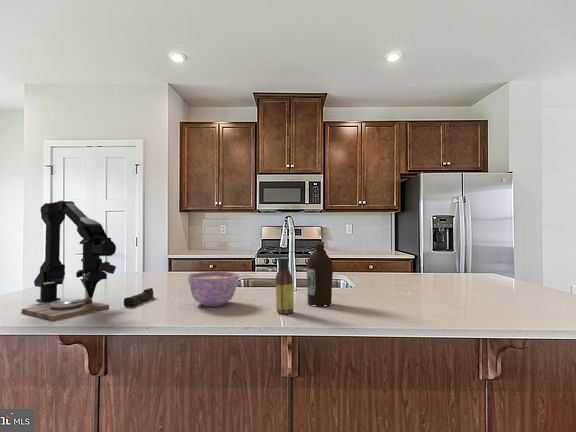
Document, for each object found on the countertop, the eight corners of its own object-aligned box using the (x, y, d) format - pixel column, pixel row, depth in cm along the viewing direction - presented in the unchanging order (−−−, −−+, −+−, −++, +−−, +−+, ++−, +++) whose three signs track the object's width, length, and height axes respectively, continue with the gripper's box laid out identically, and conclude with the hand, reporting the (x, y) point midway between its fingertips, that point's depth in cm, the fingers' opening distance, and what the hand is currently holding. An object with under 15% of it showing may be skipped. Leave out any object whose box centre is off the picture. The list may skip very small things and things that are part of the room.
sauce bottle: (295, 311, 134) (296, 257, 134) (290, 315, 128) (290, 258, 128) (279, 310, 136) (279, 256, 136) (272, 313, 130) (273, 258, 130)
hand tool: (132, 308, 138) (132, 295, 139) (122, 307, 139) (123, 295, 139) (158, 298, 157) (159, 287, 157) (150, 297, 158) (150, 287, 158)
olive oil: (324, 300, 153) (325, 241, 153) (337, 306, 143) (338, 242, 144) (301, 302, 149) (302, 241, 149) (313, 308, 139) (314, 242, 139)
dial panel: (21, 312, 129) (21, 308, 129) (77, 302, 146) (78, 298, 146) (52, 320, 119) (52, 315, 119) (109, 308, 136) (109, 304, 136)
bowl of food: (249, 304, 145) (249, 275, 145) (206, 313, 131) (207, 280, 131) (218, 297, 159) (219, 270, 159) (177, 304, 144) (177, 274, 144)
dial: (58, 310, 126) (58, 296, 126) (44, 306, 131) (45, 292, 131) (98, 303, 137) (99, 289, 138) (84, 300, 143) (85, 287, 143)
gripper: (121, 255, 137) (121, 297, 136) (106, 254, 150) (106, 292, 149) (88, 257, 129) (88, 301, 128) (76, 255, 143) (75, 296, 142)
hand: (90, 297), depth 137 cm, fingers closed
